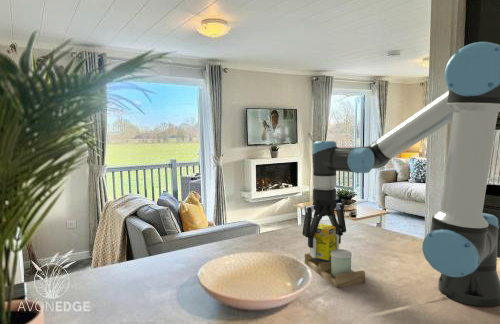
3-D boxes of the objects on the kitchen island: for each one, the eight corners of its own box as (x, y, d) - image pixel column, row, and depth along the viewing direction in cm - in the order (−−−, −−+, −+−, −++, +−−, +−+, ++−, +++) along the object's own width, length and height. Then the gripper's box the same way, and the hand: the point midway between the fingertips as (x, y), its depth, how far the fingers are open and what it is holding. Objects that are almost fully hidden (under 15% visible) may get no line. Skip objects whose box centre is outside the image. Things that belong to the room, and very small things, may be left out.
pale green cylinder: (355, 280, 101) (355, 254, 101) (338, 283, 99) (337, 257, 99) (343, 272, 107) (343, 248, 107) (326, 275, 105) (326, 250, 105)
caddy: (364, 284, 100) (364, 271, 100) (337, 289, 97) (337, 276, 97) (328, 261, 119) (328, 250, 119) (304, 264, 116) (304, 253, 116)
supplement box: (329, 263, 108) (329, 230, 107) (312, 259, 112) (312, 227, 111) (336, 257, 113) (336, 225, 112) (320, 253, 116) (319, 223, 115)
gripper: (344, 184, 117) (344, 247, 119) (290, 188, 110) (291, 255, 112) (358, 187, 110) (357, 254, 112) (301, 192, 103) (301, 263, 105)
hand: (324, 254), depth 112 cm, fingers closed on supplement box, 8 cm apart
